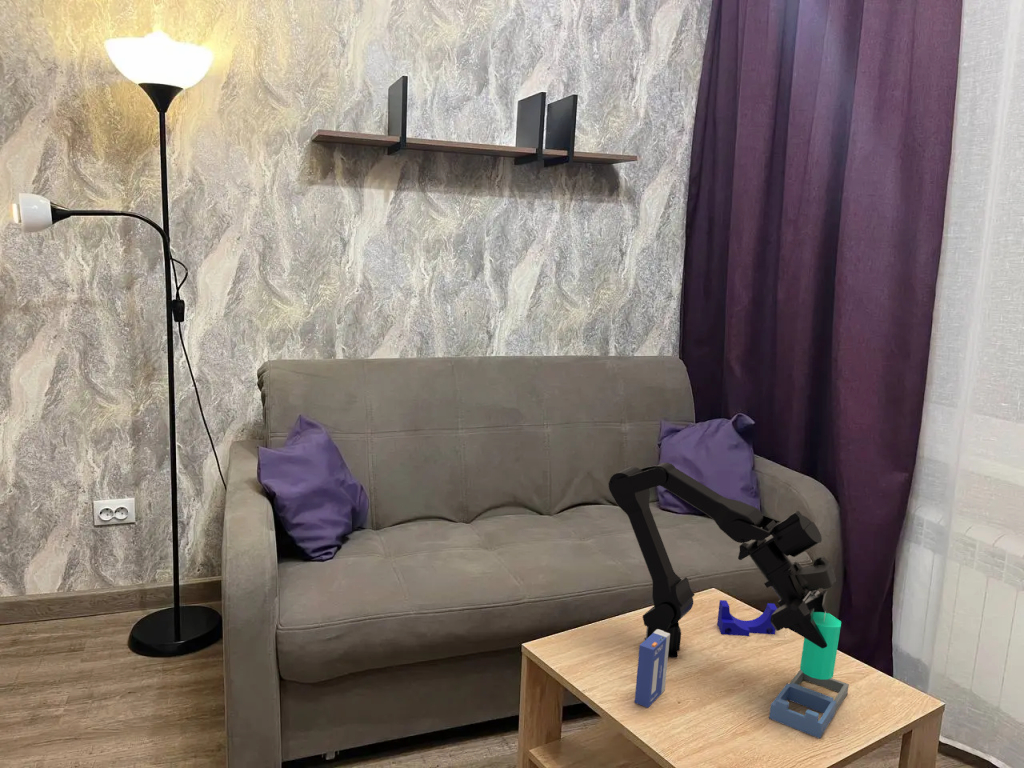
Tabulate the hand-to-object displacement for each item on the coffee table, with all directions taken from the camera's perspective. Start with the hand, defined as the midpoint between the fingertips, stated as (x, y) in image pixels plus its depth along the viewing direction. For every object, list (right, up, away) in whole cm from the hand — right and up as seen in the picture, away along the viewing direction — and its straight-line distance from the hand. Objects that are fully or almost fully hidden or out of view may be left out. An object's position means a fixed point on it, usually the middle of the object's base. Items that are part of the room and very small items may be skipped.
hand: (829, 640), depth 150 cm
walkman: (-32, -11, +3) cm, 35 cm away
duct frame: (-3, -13, +3) cm, 13 cm away
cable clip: (-7, -8, +30) cm, 32 cm away
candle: (-1, -6, +2) cm, 7 cm away
